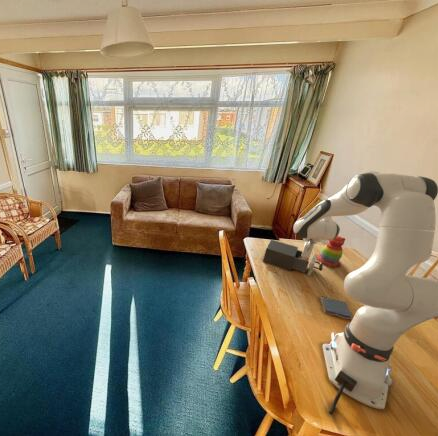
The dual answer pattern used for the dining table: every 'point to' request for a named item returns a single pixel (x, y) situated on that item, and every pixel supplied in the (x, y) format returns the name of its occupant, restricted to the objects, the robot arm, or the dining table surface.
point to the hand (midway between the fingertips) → (304, 256)
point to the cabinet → (280, 254)
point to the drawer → (305, 263)
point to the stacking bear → (332, 252)
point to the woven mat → (335, 307)
